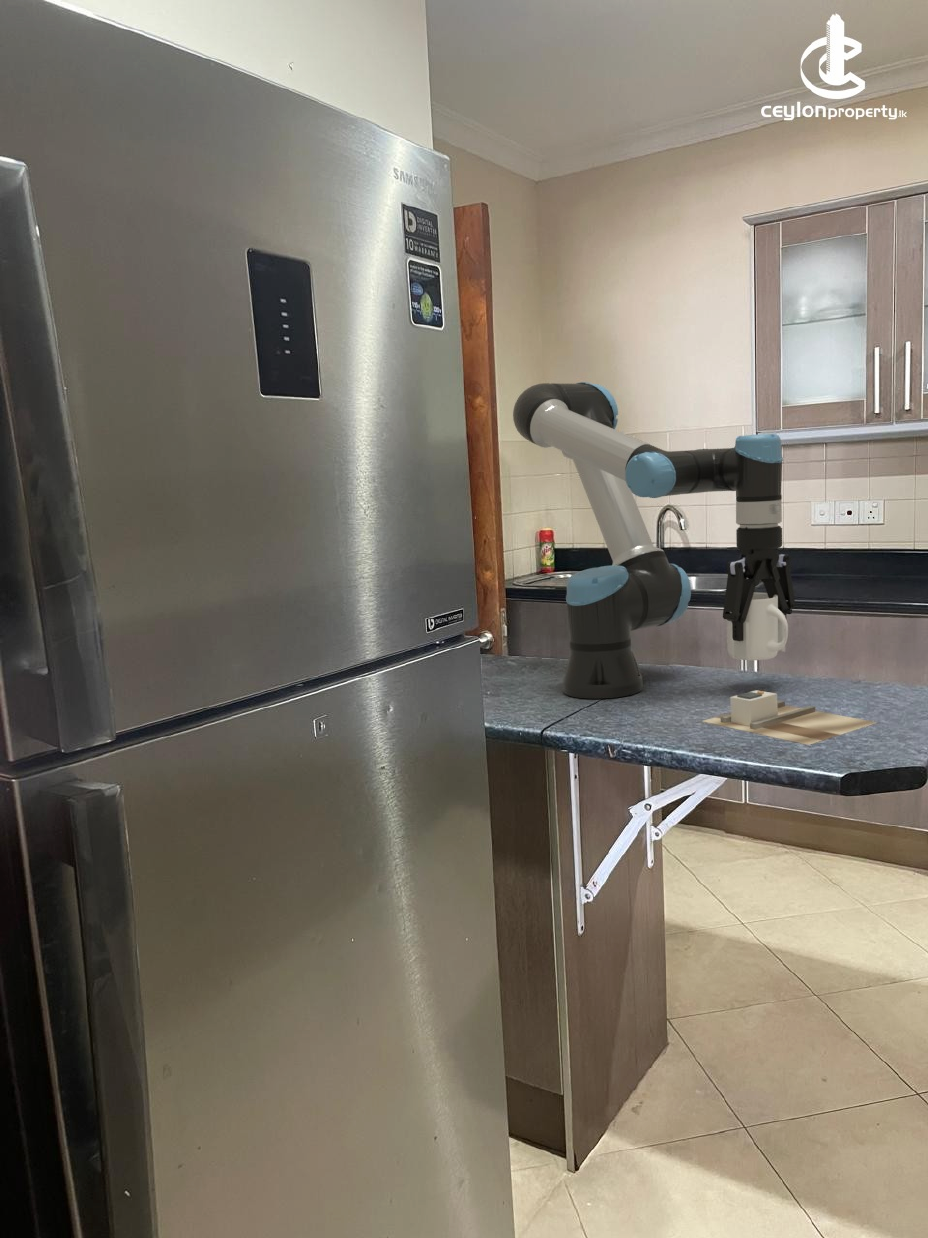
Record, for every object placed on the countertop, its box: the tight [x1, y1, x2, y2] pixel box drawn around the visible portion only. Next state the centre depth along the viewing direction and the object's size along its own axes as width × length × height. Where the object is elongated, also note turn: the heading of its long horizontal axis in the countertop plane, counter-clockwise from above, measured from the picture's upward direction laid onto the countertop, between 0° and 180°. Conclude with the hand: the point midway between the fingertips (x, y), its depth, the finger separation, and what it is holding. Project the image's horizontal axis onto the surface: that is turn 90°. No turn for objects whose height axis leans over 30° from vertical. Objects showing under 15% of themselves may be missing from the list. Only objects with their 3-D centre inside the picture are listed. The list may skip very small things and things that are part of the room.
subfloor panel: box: [701, 700, 879, 746], centre depth 143 cm, size 20×16×2 cm
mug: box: [726, 591, 789, 661], centre depth 163 cm, size 9×12×11 cm
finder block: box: [729, 690, 778, 726], centre depth 145 cm, size 4×6×4 cm, turn 123°
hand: (760, 654), depth 164 cm, fingers closed on mug, 9 cm apart
